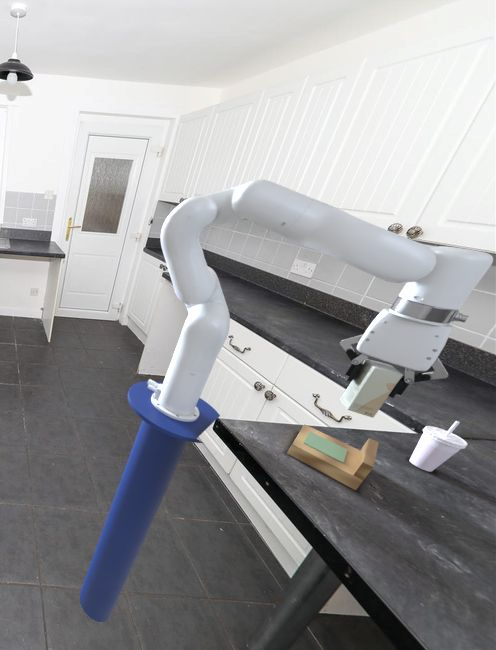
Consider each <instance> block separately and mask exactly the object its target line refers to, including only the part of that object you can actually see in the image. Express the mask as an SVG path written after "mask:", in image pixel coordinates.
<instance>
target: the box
mask: <svg viewBox="0 0 496 650" xmlns="http://www.w3.org/2000/svg"><path fill="white" fill-rule="evenodd" d="M402 376H404V374H403V373H402V372H400V371H399V370H398V369H397V368H396V367H394V366H393V364H392V365H391V364H388V363H385V362H382V361H376V360H373V359H370V358H368V359H366V360H364V361H363V362H362V366H361V368H360V370H359V371H358V373H357V374H356V376H355V377H354V379H353V380H352V382H351V381H350V383H349V384H348V386H347V388H346V389H345V391H344V392H343V394H342V396H341V397H340V401H341V403H342V404H343V406H344V407H345V408H346V410H347V411H349V412H353V413H356V414H359V415H362V416H365V417H369V418H375V416H376V415H377V413H378V412H379V410H380V409H381V408H382V406H383V405H384V403H385V402H386V401H387V399H388V397H390V396H389V394H390V393H391V392H392V390H393V389H394V387H395V386H396V384H397V383H398V382H399V380H400V379H401V377H402Z"/></svg>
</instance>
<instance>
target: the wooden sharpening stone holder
mask: <svg viewBox="0 0 496 650" xmlns="http://www.w3.org/2000/svg"><path fill="white" fill-rule="evenodd" d="M379 443H380V442H379V441H377V440H375V439H372V438H371V437H369V438H368V439H367V440H366V442H364V444H363V446H362V447H361V448H360V449H358V448H355V447H354V446H351V445H349V444H347V443H345V442H343V441H342V440H339V439H337V438H335V437H333V436H331V435H328V434H326V433H324V432H322V431H320V430H317V429H316V428H314V427H312V426H309V425H307V424H305V423H304V424H303V425H302V428H301V429H300V430H299V433H298V434H297V436H296V438H295V439H294V441H293V443H292V444H291V446H289V449H288V451H287V453H286V454H287V455H289V456H291V457H293V458H294V459H297V460H298V461H300V462H301V463H304V464H306V465H307V466H309V467H311V468H313V469H314V470H317V471H319V472H321V473H322V474H324V475H326V476H328V477H330V478H332V479H333V480H336V481H337V482H339V483H341V484H343V485H345V486H347V487H348V488H351V489H352V490H354V491H357V490H358V488H359V487H360V486H361V485H362V483H363V482H364V481H365V479H366V478H367V477H368V475H369V474H370V472H372V470H373V468H374V467H375V462H376V457H377V452H378V449H379Z"/></svg>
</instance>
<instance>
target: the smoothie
mask: <svg viewBox="0 0 496 650" xmlns="http://www.w3.org/2000/svg"><path fill="white" fill-rule="evenodd" d="M460 423H461V421H459V420H455V421H454V423H453V424H452V425H451V426H450V427H449V429H448V430H446V429H443V428H440V427H437V426H433V425H426V426H425V427H424V428H422V432H423V433H422V434H421V436H420V438H419V440H418V442H417V444H416V446H415V448H414V450H413V452H412V454H411V456H410V458H409V463H411V464H412V465H413V466H415V467H417V468H418V469H421V470H423V471H426V472H428V473H429V472H430V473H432V472H433V471H434V470H436V469H437V468H438V467H440V466H441V465H442V464H444V463H445V462H446V461H447V460H450V458H451V457H453V456H454V455H456V454H457V453H458V452H459V451H461V450H465V449H466V448H467V446H468V445H469V443H468V442H467V441H466V440H465V439H464V438H462V437H460V436H458V435H457V434H455V433H453V432H454V431H455V429H456V428H457V427H458V426H459V425H460Z"/></svg>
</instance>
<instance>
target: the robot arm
mask: <svg viewBox="0 0 496 650" xmlns="http://www.w3.org/2000/svg"><path fill="white" fill-rule="evenodd" d="M242 220H247V221H249V222H251V223H253V224H255V225H258V226H260V227H262V228H265V229H267V230H269V231H271V232H274V233H276V234H278V235H280V236H282V237H284V238H286V239H289V240H291V241H293V242H295V243H297V244H299V245H302V246H304V247H305V248H308V249H312V250H313V251H317V252H319V253H322V254H325V255H327V256H329V257H332V258H334V259H336V260H338V261H339V262H342V263H345V264H347V265H349V266H351V267H354V268H356V269H358V270H360V271H362V272H364V273H366V274H369V275H371V276H373V277H375V278H377V279H379V280H381V281H385V282H387V283H388V282H389V283H391V284H392V283H393V284H405V285H403V287H402V290H401V291H400V292H399V294H398V295H397V297H396V299H395V300H394V302H393V303H392V305H391V306H390V308H383V309H382V310H381V311H380V312H379V313H378V314H377V315H376V317H374V319H372V321H371V323H370V324H369V325H368V327H367V328H366V329H365V331H364V332H363V334H359V335H355V336H351V337H348V338H344V339H341V340H340V342H339V345H340V346H341V348H342V349H343V351H344V352H345V354H346V355H347V357H348V359H349V360H350V362H351V364H350V366H349V367H348V369H347V371H346V373H345V374H344V375H345V376H347V379H346V382H350V383H351V382H352V380H353V379H354V377H355V376H356V374H357V373H358V371H359V370H360V368H361V366H362V364H363V362H364V361H365V360H366V359H370V358H373V359H377V360H380V361H382V362H386V363H389V364H392V365H395V366H398V367H401V368H403V369H404V374H403V376H402V377H401V379H400V380H399V382H398V383H397V384H396V386H395V387H394V389H393V390H392V392H391V393H390V394H389V396H388V397H389V398H391V399H394V398H395V397H396V395H399V396H402V395H403V394H404V392H405V391H406V390H407V388H408V386H409V385H412V384H414V383H420V382H427V381H434V380H443V379H447V378H449V373H448V371H447V369H446V368H445V366H444V365H443V363H442V362H441V361H442V360H440V358H439V356H440V354H441V353H442V351H443V350H444V348H445V346H446V344H447V341H448V339H449V338H450V336H451V334H452V331H453V328H454V325H453V324H451V323H453V322H461V323H465V322H466V321H467V320H468V319H469V317H470V315H467V314H463V313H462V312H460V309H461V307H462V306H463V304H464V303H465V302H466V300H467V299H468V298H469V296H470V295H471V293H473V291H474V290H475V288H476V287H477V286H478V284H479V282H480V281H481V280H482V278H483V277H484V276H485V274H486V273H487V271H488V270H489V269H490V268H491V266H492V264H493V263H494V257H493V255H492V254H490V253H488V252H485V251H482V250H481V251H480V250H476V249H468V248H463V247H455V246H445V245H440V246H439V245H438V246H436V245H431V244H424V243H421V242H418V241H415V240H413V239H410V238H408V237H405V236H403V235H400V234H398V233H395V232H393V231H390V230H388V229H386V228H383V227H380V226H378V225H376V224H374V223H370V222H368V221H366V220H364V219H361V218H358V217H356V216H355V215H352V214H350V213H348V212H347V211H345V210H342V209H340V208H338V207H335V206H333V205H331V204H328V203H327V202H323V201H320V200H318V199H315V198H313V197H311V196H308V195H306V194H303V193H300V192H298V191H296V190H293V189H291V188H288V187H286V186H283V185H281V184H279V183H276V182H273V181H271V180H268V179H263V178H261V179H260V178H259V179H253V180H250V181H248V182H246V183H243V184H240V185H237V186H234V187H230V188H226V189H223V190H219V191H215V192H211V193H208V194H203V195H196V196H192V197H189V198H187V199H185V200H183V201H182V202H180V203H179V204H178V205H177V206H176V207H174V208H173V209H172V210H171V212H170V213H169V215H167V217H166V218H165V220H164V222H163V224H162V226H161V231H160V237H159V238H160V239H159V240H160V246H161V251H162V254H163V257H164V261H165V263H166V268H167V270H168V273H169V276H170V280H171V284H172V287H173V291H174V293H175V296H176V297H177V298H178V299H177V300H179V301H180V302H181V303H183V304H184V305H185V308H186V311H187V312H188V315H187V317H186V319H185V321H184V324H183V326H182V329H181V332H180V335H179V338H178V341H177V343H176V347H175V349H174V352H173V354H172V358H171V360H170V363H169V365H168V368H167V371H166V374H165V376H164V379H163V382H162V383H163V384H158V383H156V382H157V381H155V380H154V379H153V380H152V379H151V378H149V379H148V380H147V381H148V382H147V385H148V386H147V388H148V389H150V390H152V391H154V393H153V395H152V397H151V402H152V404H153V405H154V407H155V408H156V409H157V410H158V411H160V412H161V413H163V414H164V415H166V416H168V417H170V418H173V419H175V420H179V421H183V422H192V421H195V420H197V419H198V417H199V410H198V408H197V407H196V405H197V402H198V400H199V398H201V396H202V394H203V391H204V388H205V386H206V384H207V381H208V379H209V377H210V374H211V372H212V369H213V367H214V365H215V362H216V360H217V359H218V356H219V354H220V352H221V350H222V349H223V347H224V345H225V342H226V341H227V339H228V335H229V332H230V322H231V321H230V320H231V315H230V310H229V307H228V304H227V301H226V298H225V295H224V292H223V288H222V285H221V282H220V279H219V277H218V274H217V273H216V271H215V270H214V269H213V268H212V267H211V266H208V263H207V260H206V258H205V254H204V249H203V248H202V245H201V242H200V235H201V233H202V232H203V231H204V230H205V229H207V228H211V227H214V226H219V225H224V224H229V223H232V222H233V223H234V222H237V221H238V222H239V221H242ZM355 344H357V345H356V349H354V348H353V346H352V345H355ZM357 351H358V352H359V353H358V352H357ZM431 367H432V369H433V371H429V369H430V368H431ZM427 371H428V372H427ZM416 372H418V373H416Z"/></svg>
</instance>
